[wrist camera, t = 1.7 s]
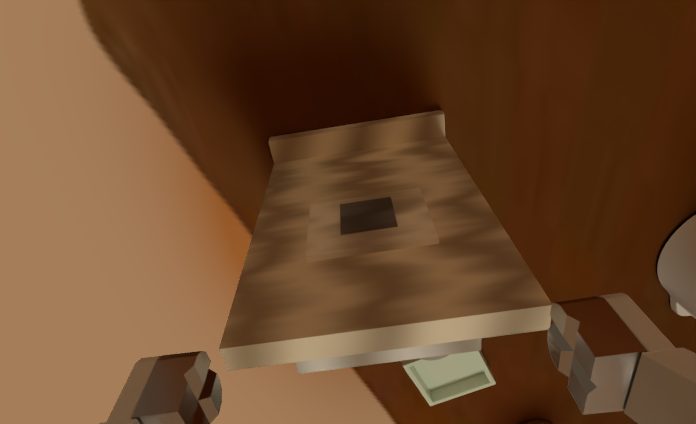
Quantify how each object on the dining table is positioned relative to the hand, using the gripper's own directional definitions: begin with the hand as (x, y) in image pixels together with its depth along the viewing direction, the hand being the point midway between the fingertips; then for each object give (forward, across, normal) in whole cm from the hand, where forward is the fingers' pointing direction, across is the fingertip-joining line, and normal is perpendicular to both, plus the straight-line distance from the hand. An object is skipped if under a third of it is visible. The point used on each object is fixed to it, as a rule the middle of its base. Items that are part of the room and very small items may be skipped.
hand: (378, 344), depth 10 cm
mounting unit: (+31, 0, +10) cm, 32 cm away
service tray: (+31, -7, +39) cm, 50 cm away
